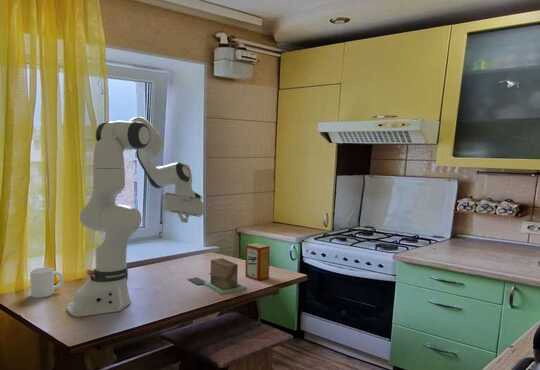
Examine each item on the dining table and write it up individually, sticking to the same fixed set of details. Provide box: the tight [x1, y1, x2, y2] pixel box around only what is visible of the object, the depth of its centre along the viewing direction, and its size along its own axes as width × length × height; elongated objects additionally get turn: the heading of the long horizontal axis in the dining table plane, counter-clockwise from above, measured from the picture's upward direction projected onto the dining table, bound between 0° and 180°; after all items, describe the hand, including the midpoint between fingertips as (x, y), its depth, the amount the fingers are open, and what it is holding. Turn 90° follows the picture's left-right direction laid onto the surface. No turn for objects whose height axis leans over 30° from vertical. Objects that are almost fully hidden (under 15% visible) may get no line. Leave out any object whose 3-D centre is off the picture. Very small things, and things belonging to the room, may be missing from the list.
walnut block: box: [210, 257, 239, 291], centre depth 185 cm, size 6×13×11 cm, turn 37°
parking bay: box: [203, 281, 248, 295], centre depth 185 cm, size 13×16×1 cm
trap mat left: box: [187, 276, 206, 286], centre depth 191 cm, size 5×10×1 cm, turn 37°
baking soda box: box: [244, 242, 270, 282], centre depth 199 cm, size 10×6×16 cm
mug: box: [29, 266, 64, 299], centre depth 171 cm, size 12×8×10 cm
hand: (184, 222), depth 196 cm, fingers closed
